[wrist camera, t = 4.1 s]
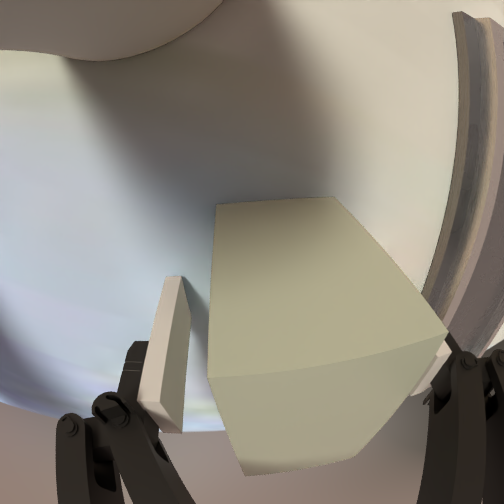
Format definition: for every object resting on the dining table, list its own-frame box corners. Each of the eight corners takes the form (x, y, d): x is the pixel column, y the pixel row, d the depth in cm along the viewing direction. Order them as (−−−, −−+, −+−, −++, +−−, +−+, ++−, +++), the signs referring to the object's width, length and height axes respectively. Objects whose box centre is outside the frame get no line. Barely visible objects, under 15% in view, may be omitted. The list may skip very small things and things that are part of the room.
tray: (378, 385, 21) (385, 402, 19) (452, 12, 6) (477, 9, 4) (471, 350, 21) (479, 362, 20) (547, 83, 7) (565, 88, 5)
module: (235, 350, 16) (245, 477, 9) (216, 203, 11) (207, 377, 4) (316, 341, 16) (352, 458, 9) (333, 196, 11) (448, 331, 5)
